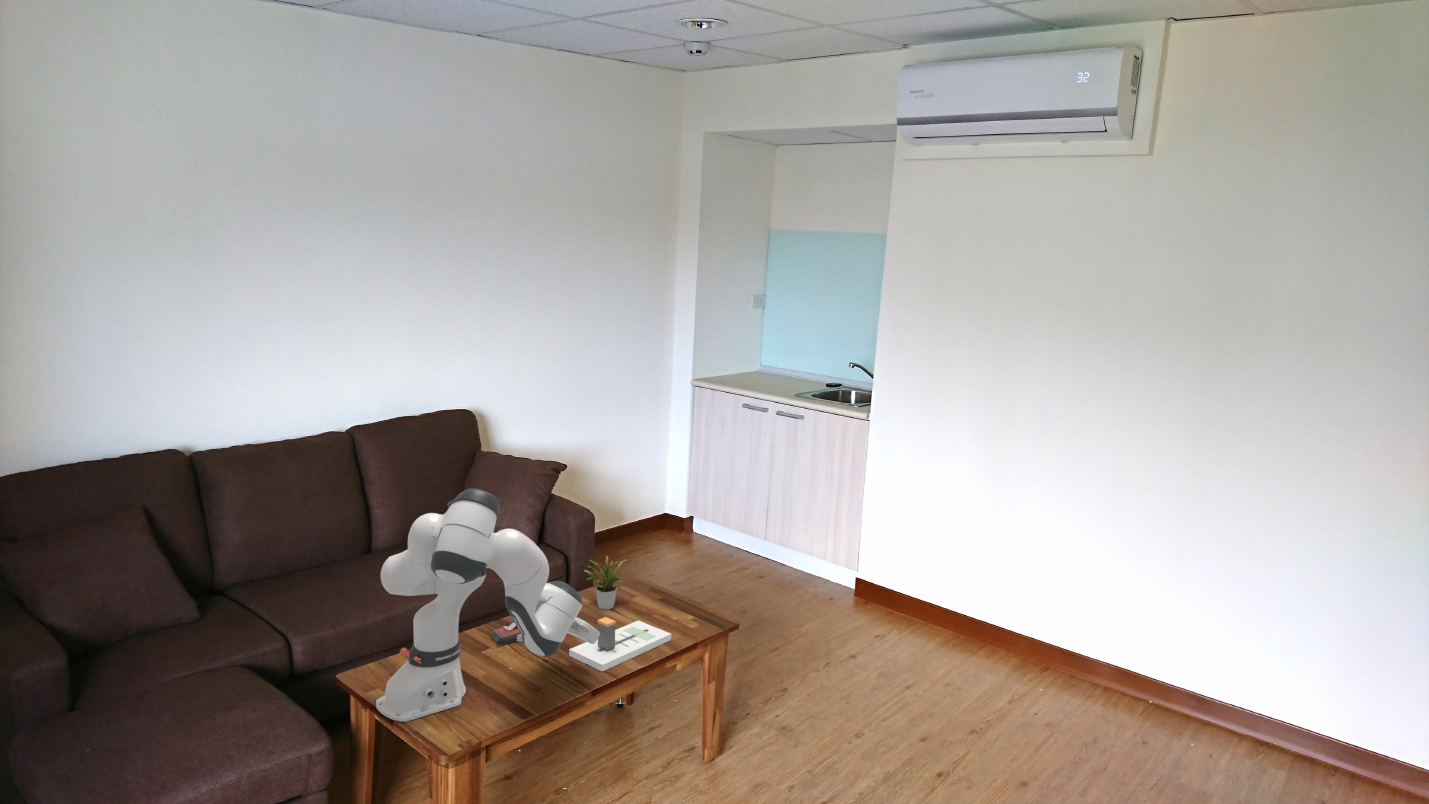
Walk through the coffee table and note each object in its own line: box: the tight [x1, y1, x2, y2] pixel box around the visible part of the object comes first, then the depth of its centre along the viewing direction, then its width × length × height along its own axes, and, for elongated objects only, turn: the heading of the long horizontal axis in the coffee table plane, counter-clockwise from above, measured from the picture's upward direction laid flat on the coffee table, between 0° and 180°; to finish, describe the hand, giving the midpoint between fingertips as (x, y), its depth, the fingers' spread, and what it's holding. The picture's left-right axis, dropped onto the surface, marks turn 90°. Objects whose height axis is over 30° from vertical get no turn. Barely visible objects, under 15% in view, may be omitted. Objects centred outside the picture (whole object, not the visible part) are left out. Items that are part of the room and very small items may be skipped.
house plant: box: [583, 555, 629, 610], centre depth 297 cm, size 14×14×16 cm
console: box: [568, 619, 672, 672], centre depth 267 cm, size 28×14×2 cm, turn 140°
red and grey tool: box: [491, 621, 524, 646], centre depth 274 cm, size 9×4×20 cm
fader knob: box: [597, 616, 617, 651], centre depth 262 cm, size 3×4×8 cm
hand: (584, 637), depth 253 cm, fingers closed
